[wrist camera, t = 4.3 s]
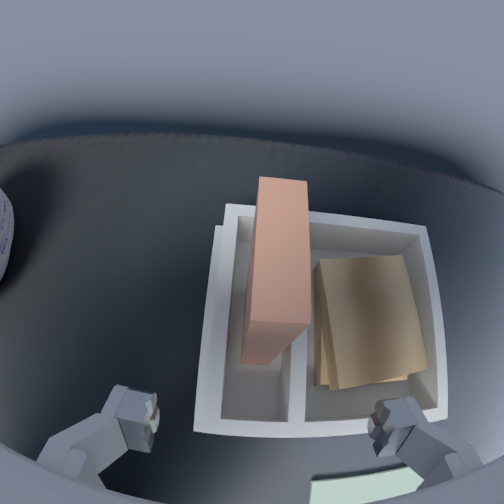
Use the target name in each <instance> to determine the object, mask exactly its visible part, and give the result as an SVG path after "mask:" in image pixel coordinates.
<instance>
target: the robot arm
mask: <svg viewBox="0 0 504 504" xmlns="http://www.w3.org/2000/svg"><path fill="white" fill-rule="evenodd" d="M156 402H157V395H156V393H155V392H150V391H145V390H141V389H136V388H131V387H126V386H122V385H118V384H117V385H116V386H114V387H113V389H112V391H111V393H110V395H109V397H108V399H107V401H106V403H105V405H104V407H103V409H102V411H101V413H100V414H99V413H96V414H94V415H92V416H90V417H88V418H86V419H84V420H83V421H81V422H79V423H77V424H75V425H73V426H71V427H69V428H67V429H65V430H64V431H62V432H60V433H58V434H56V435H54V436H52V437H50V438H49V439H48V441H47V443H46V445H45V446H44V448H43V450H42V452H41V453H40V455H39V457H38V459H37V461H34V460H32V459H30V458H28V457H26V456H24V455H22V454H20V453H18V452H16V451H14V450H12V449H10V448H9V447H7V446H5V445H3V444H2V443H0V504H166V503H161V502H156V501H151V500H146V499H142V498H138V497H133V496H130V495H126V494H122V493H118V492H115V491H111V490H108V489H106V487H105V486H104V484H103V482H102V481H101V479H100V478H99V476H98V474H99V473H100V472H101V471H103V470H104V469H105V468H106V467H108V466H109V465H110V464H111V463H113V462H114V461H115V460H116V459H118V458H119V457H120V456H121V455H123V454H124V453H125V452H126V451H128V449H132V450H137V451H142V452H147V453H151V449H152V446H153V442H154V436H153V433H154V432H156V431H157V429H158V425H159V418H160V417H159V407H158V406H157V405H156ZM374 408H375V410H376V411H375V412H373V413H372V414H371V415H370V417H369V419H368V424H367V429H368V433H369V436H370V437H371V438H372V439H374V443H373V447H374V450H375V453H376V456H377V457H382V456H388V455H394V454H396V456H397V457H398V458H399V459H401V460H402V461H403V462H404V463H405V464H406V465H407V466H409V467H410V468H411V469H412V470H413V471H414V472H415V473H417V474H418V475H419V476H420V477H421V478H422V479H424V481H423V482H422V483H421V484H420V485H419V486H418V487H417V489H416V491H414V492H410V493H407V494H403V495H399V496H395V497H391V498H387V499H383V500H378V501H374V502H369V503H363V504H504V455H503V456H502V457H500V458H498V459H496V460H494V461H492V462H490V463H487V464H485V465H483V463H482V462H481V460H480V458H479V456H478V455H477V453H476V451H475V450H474V448H473V446H472V445H470V444H469V443H467V442H465V441H463V440H462V439H460V438H458V437H456V436H455V435H453V434H451V433H450V432H448V431H446V430H444V429H443V428H441V427H439V426H438V425H436V424H434V423H433V422H428V420H427V418H426V417H425V415H424V413H423V411H422V410H421V408H420V406H419V405H418V403H417V401H416V399H415V398H414V397H413V396H407V397H401V398H392V399H384V400H379V401H377V402H376V404H375V406H374Z"/></svg>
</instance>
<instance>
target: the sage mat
mask: <svg viewBox="0 0 504 504" xmlns="http://www.w3.org/2000/svg"><path fill="white" fill-rule="evenodd" d="M423 481H424V479H422V478H421V477H420V476H419V475H418V474H417V473H415V472H414V471H413V470H412V469H411V468H410V467H409V466H406V467H402V468H397V469H392V470H388V471H382V472H377V473H371V474H365V475H359V476H352V477H344V478H335V479H324V480H311V482H310V493H309V502H308V504H363V503H369V502H374V501H378V500H383V499H387V498H391V497H395V496H399V495H403V494H407V493H410V492H414V491H416V489H417V487H418V486H419V485H420V484H421V483H422V482H423Z"/></svg>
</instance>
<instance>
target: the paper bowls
mask: <svg viewBox="0 0 504 504" xmlns="http://www.w3.org/2000/svg"><path fill="white" fill-rule="evenodd" d="M13 232H14V214H13V208H12V205H11V202H10V201H9V199H8V198H7V196H6V194H5V193H4V192H3V191H2V190H1V188H0V281H1V279H2V277H3V275H4V272H5V270H6V267H7V264H8V260H9V256H10V248H11V243H12V239H13Z"/></svg>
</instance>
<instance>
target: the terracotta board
mask: <svg viewBox="0 0 504 504" xmlns="http://www.w3.org/2000/svg"><path fill="white" fill-rule="evenodd" d="M310 324H311V266H310V234H309V211H308V193H307V181H299V180H290V179H280V178H270V177H259V185H258V193H257V201H256V209H255V217H254V225H253V233H252V241H251V249H250V257H249V265H248V274H247V282H246V291H245V305H244V319H243V333H242V347H241V361H240V363H242V364H257V365H268V364H269V363H270V362H272V361H273V360H274V359H275V358H276V357H277V356H278V355H279V354H280V353H281V352H282V351H283V350H284V349H285V348H287V347H288V346H289V345H290V344H291V343H292V342H293V341H294V340H295V339H296V338H297V337H298V336H299V335H300V334H301V333H302V332H303V331H304V330H305V329H306V328H307V327H308V326H309V325H310Z"/></svg>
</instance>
